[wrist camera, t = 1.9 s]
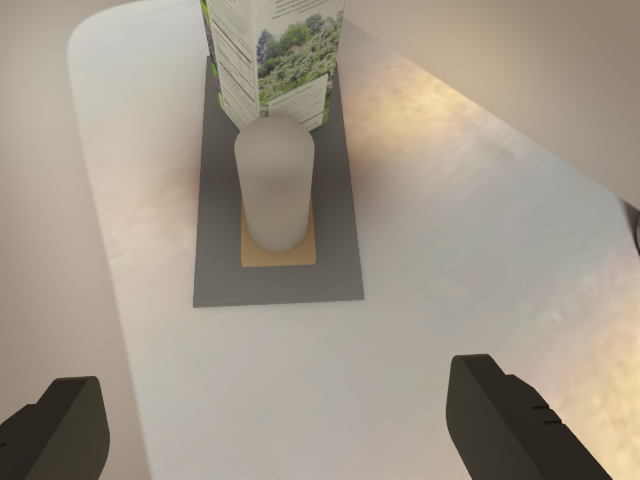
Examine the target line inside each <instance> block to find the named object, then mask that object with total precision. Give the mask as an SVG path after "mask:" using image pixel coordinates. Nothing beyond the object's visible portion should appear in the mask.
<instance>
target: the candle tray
mask: <svg viewBox="0 0 640 480" xmlns="http://www.w3.org/2000/svg"><path fill="white" fill-rule="evenodd" d="M350 300H364V291H363V283H362V274H361V266H360V257H359V249H358V240H357V232H356V223H355V215H354V206H353V198H352V189H351V181H350V173H349V164H348V156H347V147H346V139H345V130H344V122H343V113H342V105H341V96H340V88H339V79H338V71H337V62H336V64H335V70H334V77H333V84H332V91H331V98H330V105H329V112H328V119H327V123H326V124H324V125H323V126H321V127H319V128H317V129H315V130H313V131H312V132H310V133H309V132H308V131H307V129H306V128H305V127H303V126H302V125H301V124H299V123H298V122H296V121H294V120H291V119H289V118H285V117H278V116H270V117H263V118H260V119H257V120H254V121H253V122H251V123H249V124H248V125H246V126H245V127H244V128H243V129H242V130H241V131H240V130H239V129H238V127H237V126H236V125H235V124H234V123H233V121H232V120H231V119H230V118H229V116H228V115H227V114H226V113H225V112H224V110H223V109H222V108H221V107H220V106H219V103H218V97H217V91H216V86H215V80H214V74H213V69H212V63H211V57H210V56H207V68H206V85H205V103H204V121H203V138H202V156H201V173H200V191H199V209H198V226H197V244H196V262H195V279H194V297H193V307H194V308H198V307H220V306H241V305H263V304H285V303H307V302H328V301H350Z"/></svg>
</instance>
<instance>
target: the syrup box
mask: <svg viewBox="0 0 640 480" xmlns="http://www.w3.org/2000/svg"><path fill="white" fill-rule="evenodd" d="M200 3H201V8H202V14H203V20H204V25H205V30H206V36H207V41H208V46H209V51H210V57H211V63H212V69H213V74H214V80H215V86H216V91H217V97H218V103H219V106H220V107H221V108H222V109H223V110H224V112H225V113H226V114H227V115H228V116H229V118H230V119H231V120H232V121H233V123H234V124H235V125H236V126H237V127H238V129H239V130H240V131H241V130H242V129H243V128H244V127H245V126H246V125H248V124H249V123H251V122H253V121H254V120H257V119H260V118H263V117H270V116H278V117H285V118H289V119H291V120H294V121H296V122H298V123H299V124H301V125H302V126H303V127H305V128H306V129H307V131H308V132H309V133H310V132H312V131H313V130H315V129H317V128H319V127H321V126H323V125H324V124H326V123H327V119H328V112H329V105H330V98H331V91H332V84H333V77H334V70H335V64H336V56H337V50H338V43H339V36H340V30H341V23H342V16H343V10H344V3H345V0H200Z"/></svg>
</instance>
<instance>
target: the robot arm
mask: <svg viewBox="0 0 640 480" xmlns="http://www.w3.org/2000/svg"><path fill="white" fill-rule="evenodd" d="M636 231H637V242H638V245H639V248H640V215H639V217H638V222H637V228H636ZM446 421H447V426H448V430H449V434H450V436H451V439H452V441H453V443H454V445H455V447H456V449H457V450H458V452H459V454H460V456H461V458H462V460H463V462H464V464H465V466H466V468H467V470H468V472H469V474H470V476H471V478H472V480H613V479H612V478H611V477H610V476H609V474H608V473H607V472H606V471H605V470H604V469H603V467H602V466H601V465H600V464H599V463H598V462H597V460H596V459H595V458H594V457H593V456H592V455H591V454H590V452H589V451H588V450H587V449H586V448H585V447H584V445H583V444H582V443H581V442H580V441H579V440H578V438H577V437H576V436H575V435H574V434H573V433H572V432H571V430H570V429H569V428H568V427H567V426H566V425H565V424H562V420H561V419H560V418H559V416H558V415H557V414H556V413H555V412H554V411H553V409H550V408H549V405H548V404H547V403H546V401H545V400H544V399H543V398H542V397H541V396H540V394H539V393H538V392H537V391H536V390H535V389H534V388H533V387H531V386H530V385H528V384H527V383H525V382H524V381H522V380H521V379H519V378H518V377H516V376H515V375H513V374H511V375H505V373H504V372H503V371H502V370H501V368H500V367H499V366H498V365H497V364H496V362H495V361H494V360H493V359H492V357H491V356H490V355H488V354H473V355H456V356H454V357H453V359H452V362H451V369H450V378H449V386H448V395H447V403H446ZM109 445H110V433H109V428H108V423H107V417H106V412H105V407H104V402H103V397H102V393H101V388H100V383H99V380H98V379H97V377H95V376H85V377H69V378H57V379H55V380H54V381H53V382H52V383H51V385H50V386H49V387H48V389H47V390H46V391H45V393H44V394H43V395H42V397H41V398H40V399H39V401H38V402H37V403H36V404H27V405H26V406H24V407H23V408H22V409H20V410H19V411H18V412H16V413H15V414H14V415H12V416H11V417H10V418H8V419H7V420H6V421H4V422H3V423H2V424H1V425H0V480H98V479H99V476H100V474H101V472H102V470H103V468H104V465H105V463H106V460H107V457H108V452H109Z"/></svg>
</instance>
